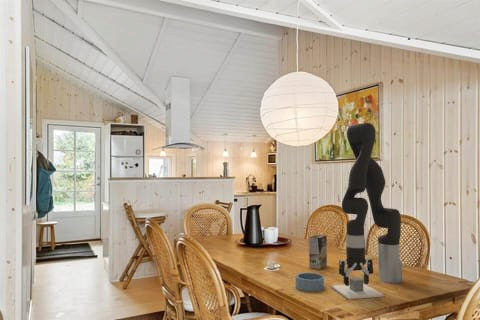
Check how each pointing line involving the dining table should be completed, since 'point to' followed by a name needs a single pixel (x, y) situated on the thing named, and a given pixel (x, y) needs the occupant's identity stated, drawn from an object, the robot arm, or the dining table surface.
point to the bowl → (310, 281)
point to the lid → (357, 290)
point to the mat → (353, 299)
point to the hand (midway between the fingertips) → (356, 284)
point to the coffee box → (317, 251)
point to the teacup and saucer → (272, 266)
